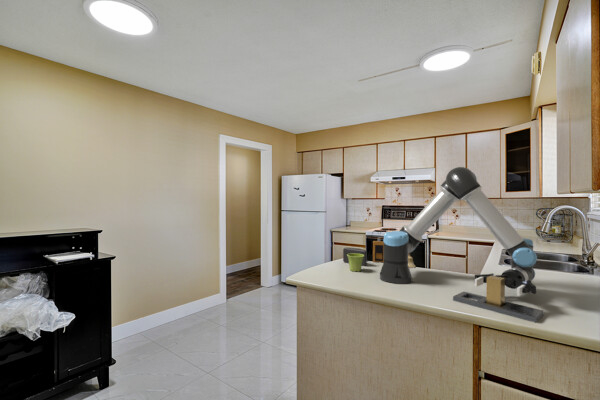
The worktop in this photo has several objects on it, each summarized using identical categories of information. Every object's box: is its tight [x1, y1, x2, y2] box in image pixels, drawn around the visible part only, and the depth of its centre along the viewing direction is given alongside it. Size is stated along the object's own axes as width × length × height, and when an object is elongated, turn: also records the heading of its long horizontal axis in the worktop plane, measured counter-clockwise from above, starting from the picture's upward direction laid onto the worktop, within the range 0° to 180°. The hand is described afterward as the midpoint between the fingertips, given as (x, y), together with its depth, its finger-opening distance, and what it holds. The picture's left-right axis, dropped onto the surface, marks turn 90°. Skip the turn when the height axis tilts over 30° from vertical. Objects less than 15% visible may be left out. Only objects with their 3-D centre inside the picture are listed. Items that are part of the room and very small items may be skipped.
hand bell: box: [408, 253, 416, 269], centre depth 173 cm, size 8×8×16 cm
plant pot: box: [347, 253, 364, 273], centre depth 161 cm, size 9×9×9 cm
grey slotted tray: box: [452, 291, 544, 323], centre depth 108 cm, size 26×10×2 cm, turn 39°
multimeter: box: [367, 230, 387, 263], centre depth 188 cm, size 15×10×20 cm
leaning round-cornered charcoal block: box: [342, 247, 368, 267], centre depth 178 cm, size 16×5×9 cm, turn 48°
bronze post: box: [485, 275, 506, 307], centre depth 108 cm, size 4×4×11 cm
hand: (495, 287), depth 107 cm, fingers open, 13 cm apart
